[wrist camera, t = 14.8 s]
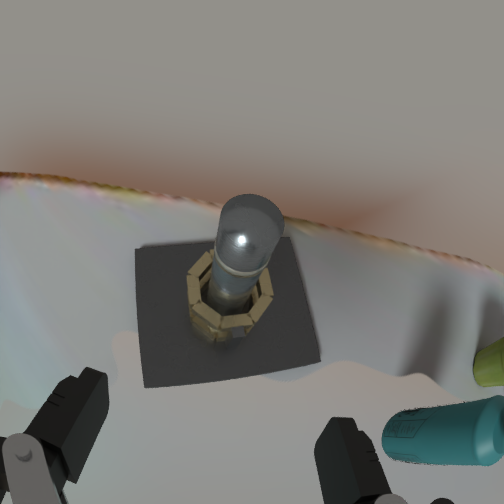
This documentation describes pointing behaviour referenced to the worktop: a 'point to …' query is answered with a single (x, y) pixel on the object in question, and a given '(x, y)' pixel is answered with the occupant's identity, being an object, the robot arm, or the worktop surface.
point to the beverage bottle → (448, 434)
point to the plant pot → (490, 365)
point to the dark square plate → (218, 319)
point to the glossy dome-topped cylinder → (242, 250)
